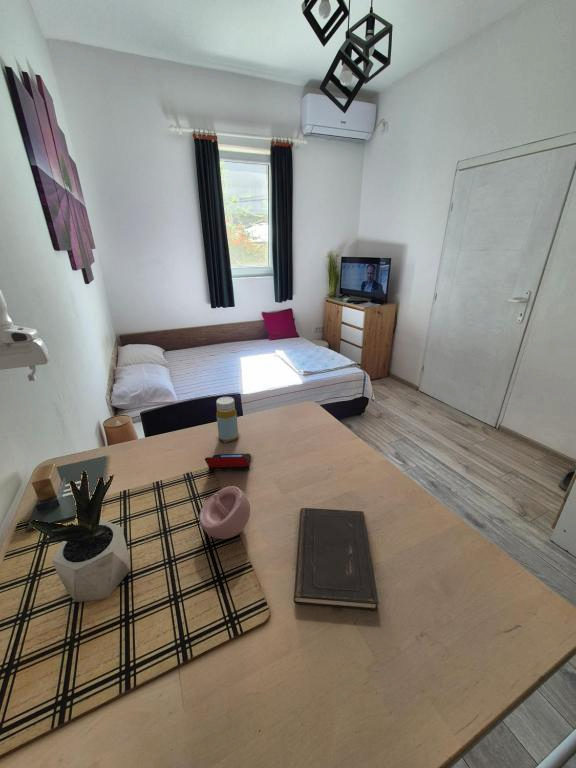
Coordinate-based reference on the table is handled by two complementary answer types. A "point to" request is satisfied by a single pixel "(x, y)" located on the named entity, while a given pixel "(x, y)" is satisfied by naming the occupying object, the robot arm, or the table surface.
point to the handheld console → (228, 462)
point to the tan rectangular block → (48, 487)
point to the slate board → (67, 506)
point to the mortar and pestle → (225, 513)
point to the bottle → (226, 419)
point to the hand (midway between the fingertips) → (13, 383)
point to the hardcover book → (334, 560)
